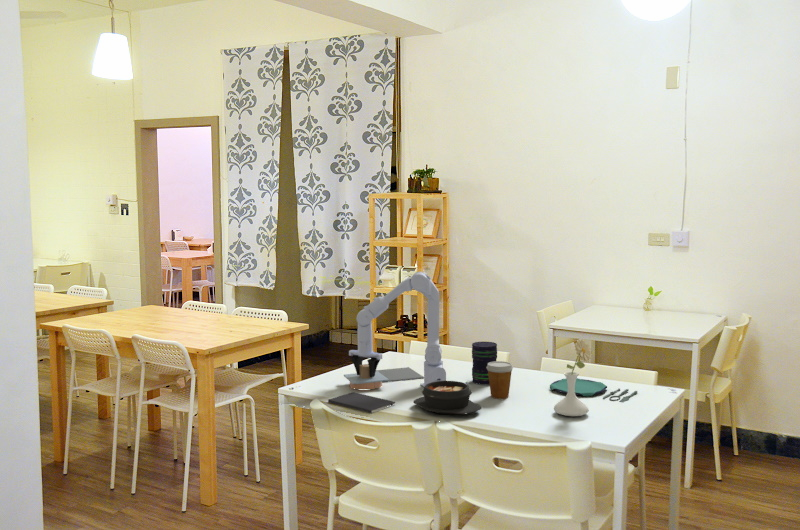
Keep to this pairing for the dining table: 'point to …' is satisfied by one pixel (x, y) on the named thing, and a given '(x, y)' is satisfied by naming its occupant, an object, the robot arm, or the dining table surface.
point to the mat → (400, 374)
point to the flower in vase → (571, 402)
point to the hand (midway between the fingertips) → (365, 375)
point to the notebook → (361, 402)
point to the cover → (365, 376)
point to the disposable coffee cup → (499, 378)
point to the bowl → (366, 385)
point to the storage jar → (482, 361)
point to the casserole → (447, 398)
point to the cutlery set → (587, 388)
